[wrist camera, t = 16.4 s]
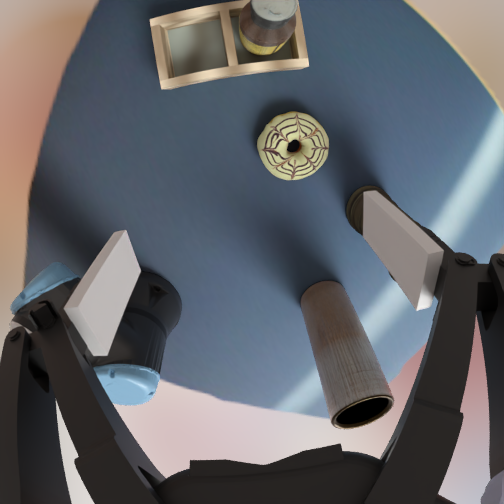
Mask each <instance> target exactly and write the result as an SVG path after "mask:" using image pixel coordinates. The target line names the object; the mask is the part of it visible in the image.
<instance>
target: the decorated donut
mask: <svg viewBox="0 0 504 504" xmlns="http://www.w3.org/2000/svg"><path fill="white" fill-rule="evenodd" d="M292 140H298V141H299V144H300V146H299V149H298V150H297V151H296V152H288V151H287V146H288V143H289V142H291V141H292ZM257 148H258V151H259V155H260V158H261V159H262V162H263V164H264V165H265V167H266V168H267V169H268V170H269V171H270V172H271V173H272V174H273V175H275V176H276V177H278V178H282V179H285V180H298V179H302V178H304V177H307V176H309V175H311V174H313V173H314V172H316V171H317V170H318V169H319V168H320V167H321V166H322V165H323V163H324V161H325V160H326V158H327V155H328V149H329V138H328V136H327V134H326V132H325V130H324V129H323V127H322V126H321V125H320V124H319V122H318V121H316V120H315V119H314V118H313V117H311V116H310V115H308V114H305V113H299V112H288V113H286V114H281V115H278V116H276V117H274V118H273V119H272V120H271V122H269V124H267V125H266V127H265V129H264V131H263V132H262V133H261V135H260V136H259V138H258V140H257Z"/></svg>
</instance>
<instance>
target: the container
mask: <svg viewBox="0 0 504 504" xmlns="http://www.w3.org/2000/svg"><path fill="white" fill-rule="evenodd" d="M367 191H377V192H378V193H380V194H381V195H382V196H383V197H385V198H386V199H387V200H388V201H389V202H391V203H392V204H393V205H394V206H395V207H397V208H398V209H399V210H400V211H401V212H402V213H404V214H405V215H406V216H407V217H408V218H409V219H410V220H412V221H413V222H414V223H415V224H416V225H417V226H421V225H420V224H419V223H418V222H416V221H414V220H413V219H412V218H411V217H410V216H409V215H407V214H406V213H405V212H404V211H403V210H401V209H400V208H399V207H398V205H397V204H396V203H395V202H394V201H393V200H392V199H391V198H390V196H389V195H388V194H387V193H386V192H385V191H384V190H382V189H381V188H379V187H376V186H363V187H361V188H359V189H357V190H356V191H355V192H354V193H353V194H352V195H351V197H350V199H349V201H348V203H347V209H346V214H347V219H348V221H349V223H350V225H351V226H352V227H353V228H354V229H355V230H356V231H357V232H358V233H360V234H361V235H362V236H363V205H364V192H367ZM389 274H390V276H391V277H392V279H393V280H394V281H396V280H395V279H394V278H393V276H392V275H391V273H390V272H389Z"/></svg>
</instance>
